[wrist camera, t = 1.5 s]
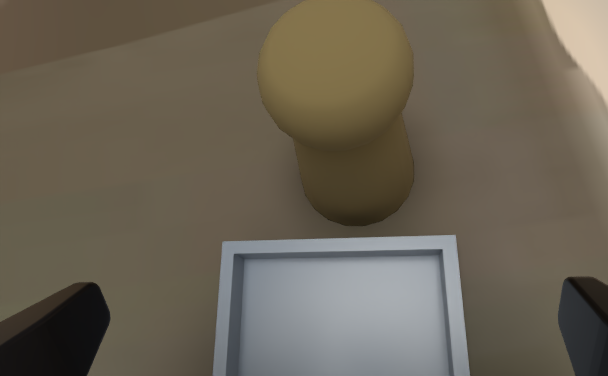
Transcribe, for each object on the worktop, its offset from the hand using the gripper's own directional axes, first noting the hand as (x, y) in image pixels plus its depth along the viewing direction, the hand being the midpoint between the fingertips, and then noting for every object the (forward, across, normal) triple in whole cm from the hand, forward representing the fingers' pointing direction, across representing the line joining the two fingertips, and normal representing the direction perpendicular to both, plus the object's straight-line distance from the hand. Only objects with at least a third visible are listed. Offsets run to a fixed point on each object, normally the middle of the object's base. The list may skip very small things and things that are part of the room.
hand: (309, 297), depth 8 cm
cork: (+15, 0, +4) cm, 15 cm away
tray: (+8, +1, +11) cm, 13 cm away
